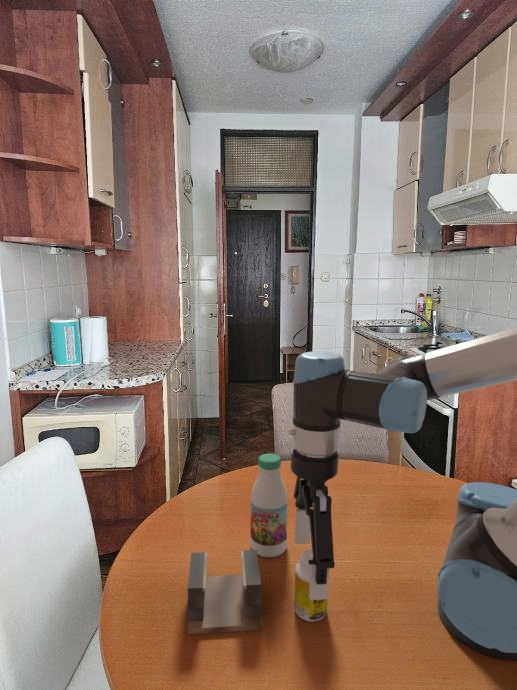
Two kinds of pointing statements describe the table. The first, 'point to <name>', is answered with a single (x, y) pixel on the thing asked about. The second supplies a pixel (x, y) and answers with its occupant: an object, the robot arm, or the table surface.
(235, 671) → the table surface
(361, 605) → the table surface
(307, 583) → the supplement bottle
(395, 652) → the table surface
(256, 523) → the milk bottle
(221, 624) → the clamp block
